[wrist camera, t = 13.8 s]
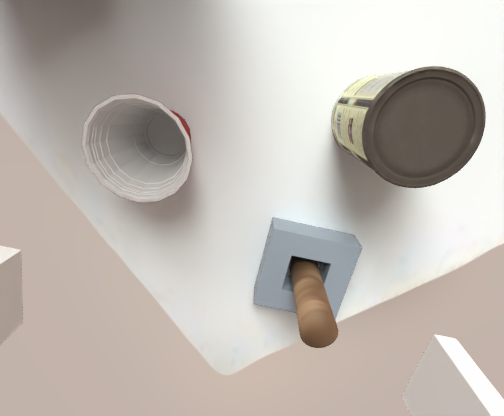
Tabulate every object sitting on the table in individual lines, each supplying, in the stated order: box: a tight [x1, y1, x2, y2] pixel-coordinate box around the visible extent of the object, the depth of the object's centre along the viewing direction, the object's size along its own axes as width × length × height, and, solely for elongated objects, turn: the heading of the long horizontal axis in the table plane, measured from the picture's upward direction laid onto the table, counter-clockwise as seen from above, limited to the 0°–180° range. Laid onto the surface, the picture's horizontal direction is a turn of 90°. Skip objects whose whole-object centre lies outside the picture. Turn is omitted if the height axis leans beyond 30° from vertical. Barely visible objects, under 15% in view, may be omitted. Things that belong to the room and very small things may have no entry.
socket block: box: [254, 217, 362, 318], centre depth 47 cm, size 12×12×4 cm
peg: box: [289, 256, 338, 348], centre depth 42 cm, size 4×4×15 cm
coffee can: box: [332, 66, 485, 188], centre depth 35 cm, size 10×10×14 cm
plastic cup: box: [82, 94, 193, 202], centre depth 37 cm, size 11×11×12 cm
